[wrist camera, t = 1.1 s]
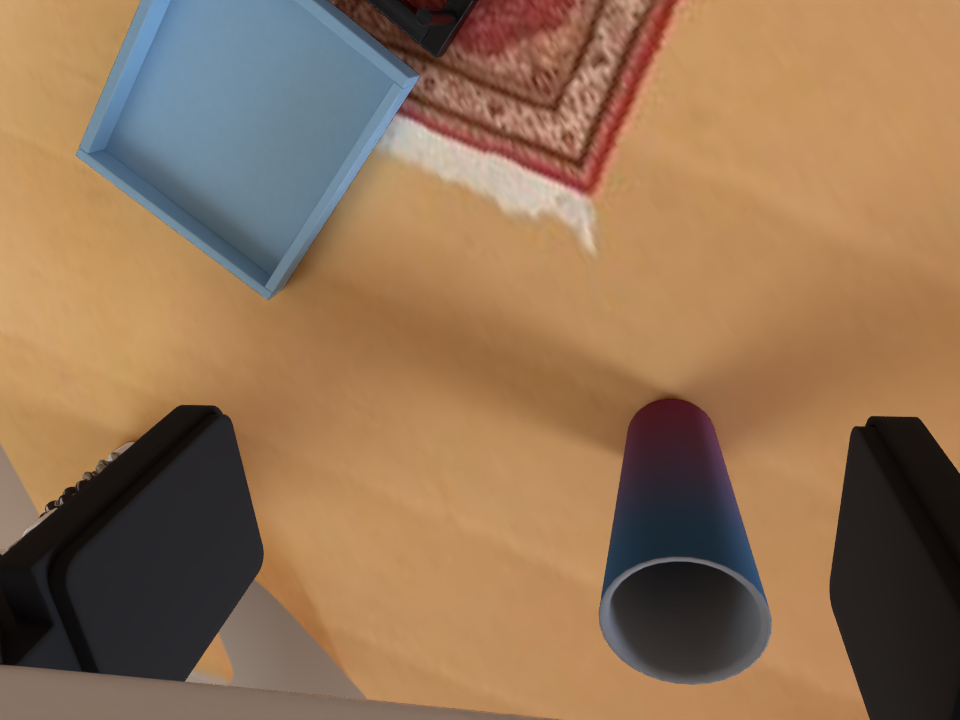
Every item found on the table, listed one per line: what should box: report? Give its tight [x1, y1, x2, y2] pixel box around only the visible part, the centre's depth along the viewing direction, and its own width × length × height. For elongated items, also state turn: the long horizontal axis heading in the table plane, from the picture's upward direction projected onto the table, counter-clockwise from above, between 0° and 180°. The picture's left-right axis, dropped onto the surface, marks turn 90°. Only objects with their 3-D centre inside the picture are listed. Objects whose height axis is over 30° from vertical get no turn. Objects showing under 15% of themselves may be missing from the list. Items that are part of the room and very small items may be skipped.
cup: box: [599, 399, 772, 685], centre depth 37 cm, size 7×7×15 cm
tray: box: [76, 0, 420, 300], centre depth 39 cm, size 15×13×2 cm
